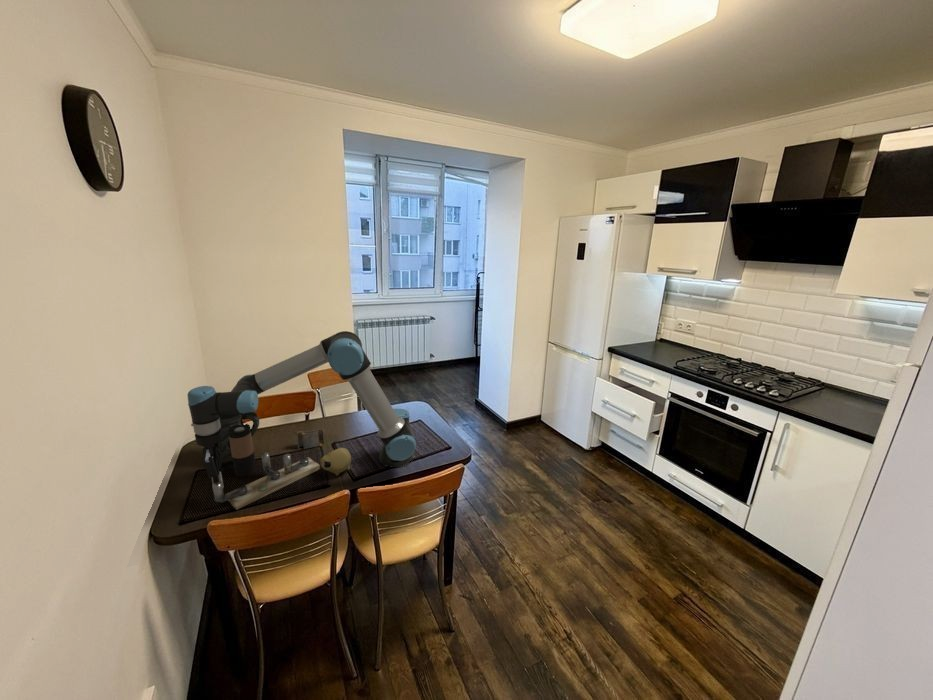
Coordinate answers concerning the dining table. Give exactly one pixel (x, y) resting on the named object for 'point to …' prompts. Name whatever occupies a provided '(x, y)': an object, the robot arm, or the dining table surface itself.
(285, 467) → the grey coat hook
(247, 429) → the travel mug
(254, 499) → the coat hook board
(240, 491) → the grey metal coat hook
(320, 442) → the grey brown upright panel
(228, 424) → the beer stein
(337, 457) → the toy pig
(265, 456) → the grey metal hook
